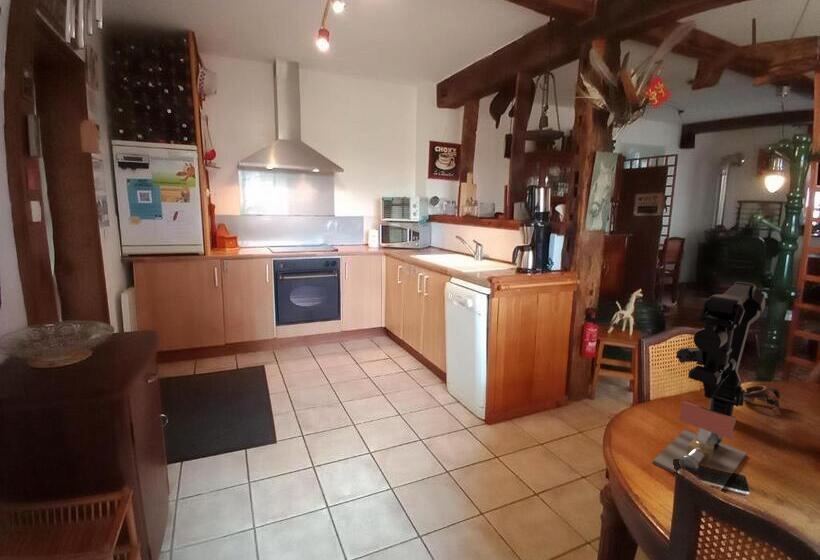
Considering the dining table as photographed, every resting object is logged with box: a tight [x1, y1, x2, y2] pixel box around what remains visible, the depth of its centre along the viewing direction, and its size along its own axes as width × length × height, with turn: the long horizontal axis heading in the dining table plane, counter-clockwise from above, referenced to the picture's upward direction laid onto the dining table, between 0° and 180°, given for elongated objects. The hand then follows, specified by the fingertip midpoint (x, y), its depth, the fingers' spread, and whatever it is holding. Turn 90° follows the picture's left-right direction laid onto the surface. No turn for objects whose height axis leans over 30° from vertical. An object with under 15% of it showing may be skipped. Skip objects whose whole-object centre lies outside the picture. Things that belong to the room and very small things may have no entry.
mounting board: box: [652, 429, 747, 491], centre depth 106 cm, size 23×14×1 cm, turn 130°
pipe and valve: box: [679, 432, 723, 473], centre depth 105 cm, size 20×4×4 cm, turn 130°
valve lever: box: [678, 400, 737, 446], centre depth 104 cm, size 1×11×9 cm, turn 40°
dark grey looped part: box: [743, 384, 782, 417], centre depth 134 cm, size 12×10×8 cm
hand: (708, 397), depth 113 cm, fingers closed
